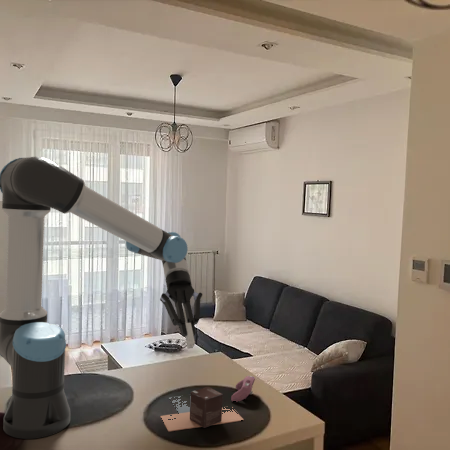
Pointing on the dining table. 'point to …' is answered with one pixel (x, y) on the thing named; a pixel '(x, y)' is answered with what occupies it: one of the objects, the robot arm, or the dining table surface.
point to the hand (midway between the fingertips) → (191, 346)
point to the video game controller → (243, 389)
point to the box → (206, 406)
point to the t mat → (185, 422)
